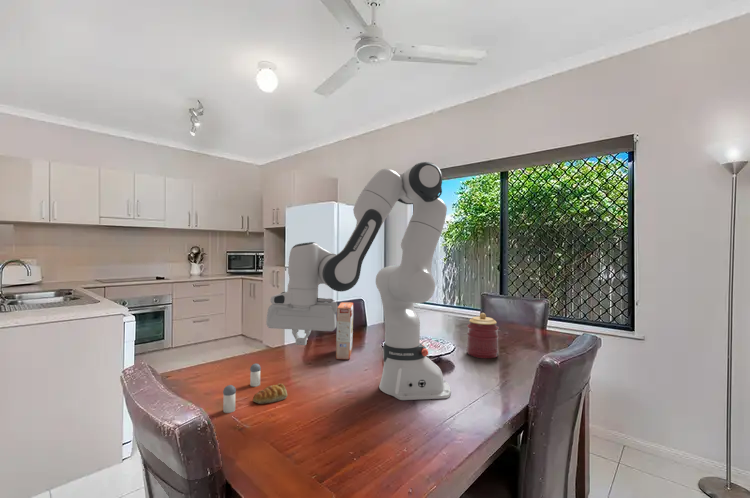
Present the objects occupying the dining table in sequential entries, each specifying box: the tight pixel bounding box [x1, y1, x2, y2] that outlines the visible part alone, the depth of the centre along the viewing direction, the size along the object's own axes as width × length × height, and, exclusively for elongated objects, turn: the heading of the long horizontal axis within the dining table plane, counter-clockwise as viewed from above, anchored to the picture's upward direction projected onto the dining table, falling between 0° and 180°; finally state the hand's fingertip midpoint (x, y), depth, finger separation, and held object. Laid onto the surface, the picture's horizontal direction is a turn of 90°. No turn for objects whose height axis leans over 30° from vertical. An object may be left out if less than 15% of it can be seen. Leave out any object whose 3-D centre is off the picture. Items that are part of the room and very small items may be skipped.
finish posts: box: [222, 363, 262, 414], centre depth 106 cm, size 3×21×7 cm, turn 177°
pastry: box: [252, 382, 288, 405], centre depth 105 cm, size 9×7×4 cm
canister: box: [466, 312, 500, 359], centre depth 152 cm, size 13×13×18 cm
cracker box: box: [335, 301, 354, 361], centre depth 148 cm, size 14×6×21 cm, turn 179°
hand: (301, 344), depth 105 cm, fingers closed
